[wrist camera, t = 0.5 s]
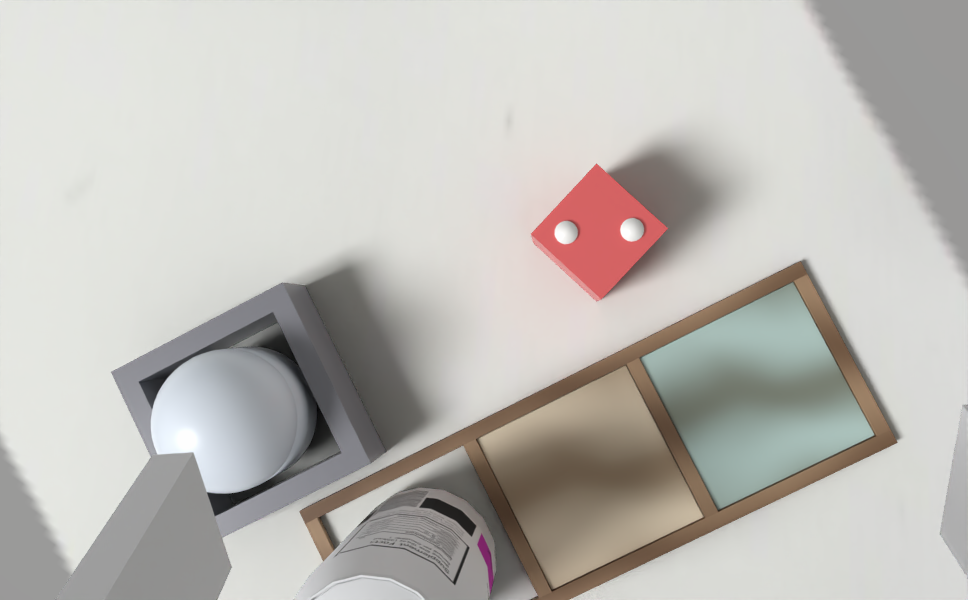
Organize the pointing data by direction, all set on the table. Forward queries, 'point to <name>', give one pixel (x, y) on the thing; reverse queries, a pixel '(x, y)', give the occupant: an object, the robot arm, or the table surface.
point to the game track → (642, 450)
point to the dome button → (235, 416)
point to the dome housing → (317, 366)
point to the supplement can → (410, 553)
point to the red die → (597, 233)
